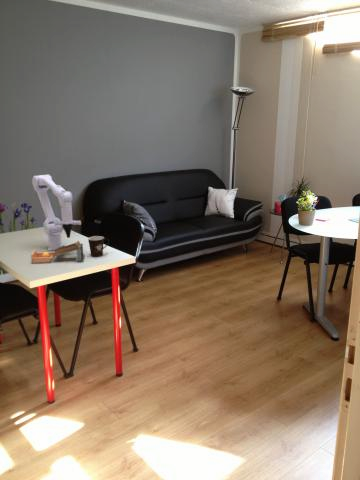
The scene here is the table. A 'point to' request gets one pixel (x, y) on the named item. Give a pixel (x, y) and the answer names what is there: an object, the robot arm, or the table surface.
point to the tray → (40, 257)
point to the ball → (45, 254)
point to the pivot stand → (80, 254)
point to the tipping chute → (66, 249)
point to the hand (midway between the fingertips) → (68, 237)
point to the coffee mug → (96, 245)
